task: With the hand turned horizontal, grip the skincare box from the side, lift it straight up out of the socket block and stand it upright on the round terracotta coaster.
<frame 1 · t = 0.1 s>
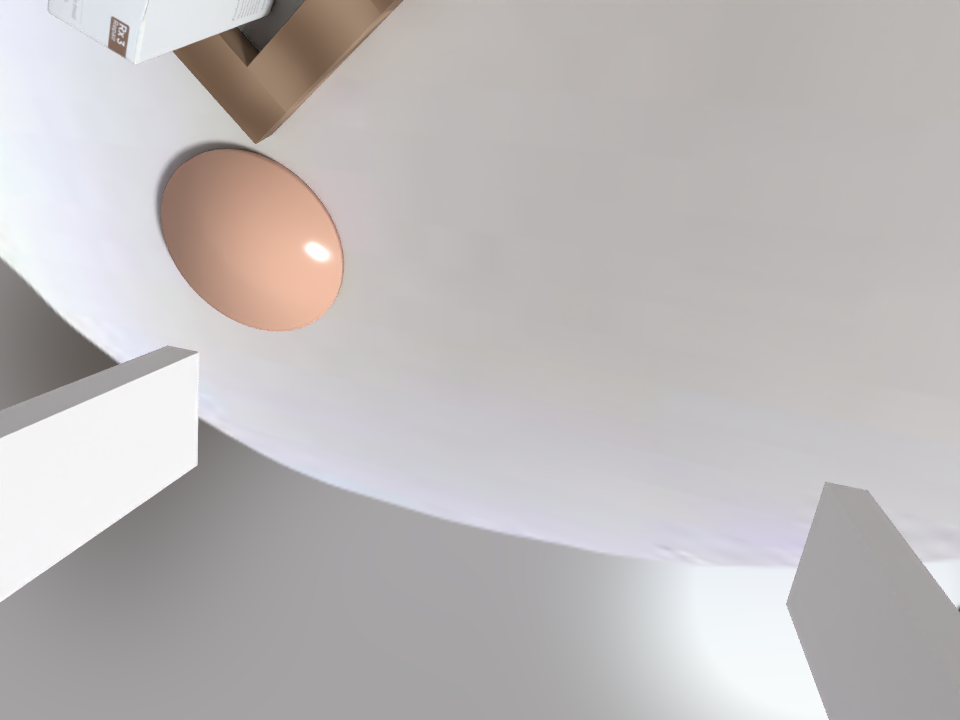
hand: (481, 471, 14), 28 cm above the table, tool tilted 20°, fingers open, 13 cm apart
coaster: (253, 244, 46), on the table
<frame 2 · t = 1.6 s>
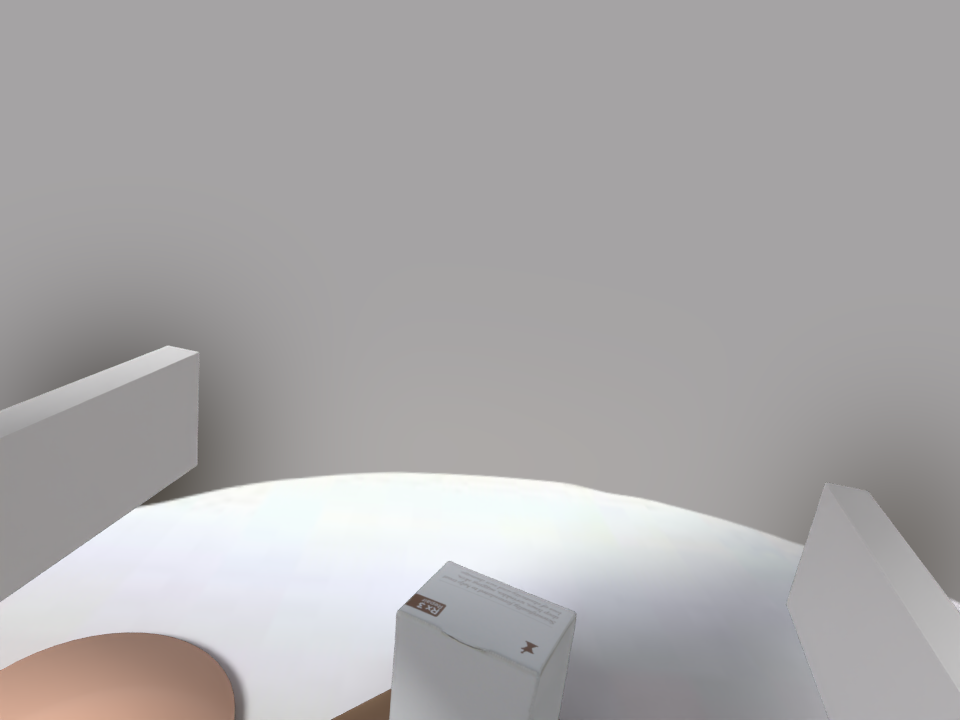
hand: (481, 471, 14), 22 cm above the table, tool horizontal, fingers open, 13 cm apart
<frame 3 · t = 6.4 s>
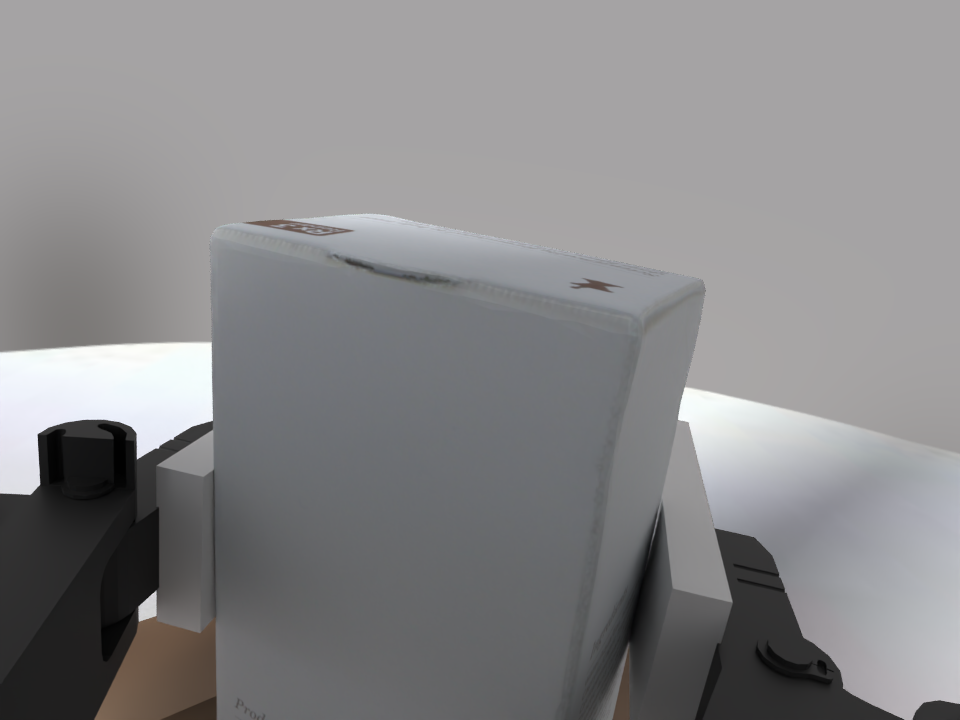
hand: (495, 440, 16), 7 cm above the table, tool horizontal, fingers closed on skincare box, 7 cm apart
when the fingers open (9 cm above the table, at t = 11.3 s): skincare box drops 1 cm, resting on coaster.
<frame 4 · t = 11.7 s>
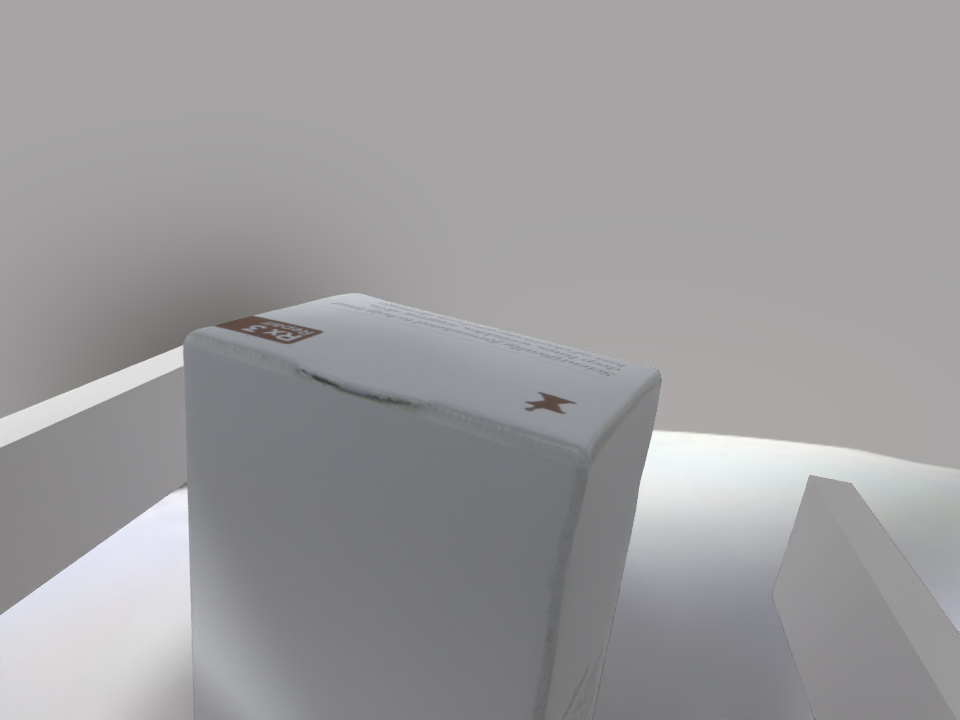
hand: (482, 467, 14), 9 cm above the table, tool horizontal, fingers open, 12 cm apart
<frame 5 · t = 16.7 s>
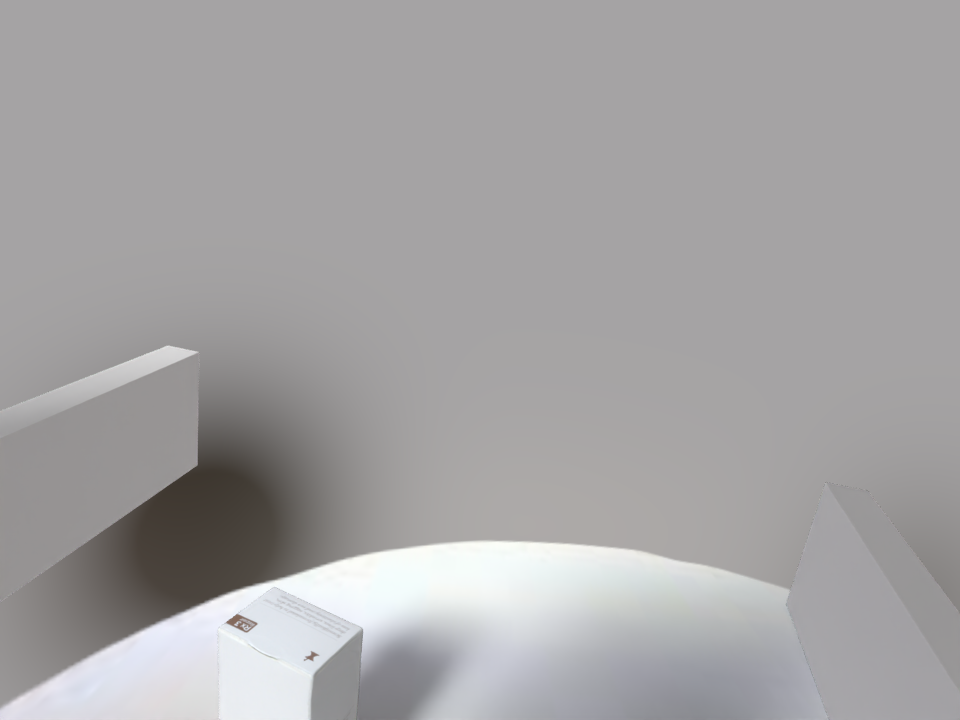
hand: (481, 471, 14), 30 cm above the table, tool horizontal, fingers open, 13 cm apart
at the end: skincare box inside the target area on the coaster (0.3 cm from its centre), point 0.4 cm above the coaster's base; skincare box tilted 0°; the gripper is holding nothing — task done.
